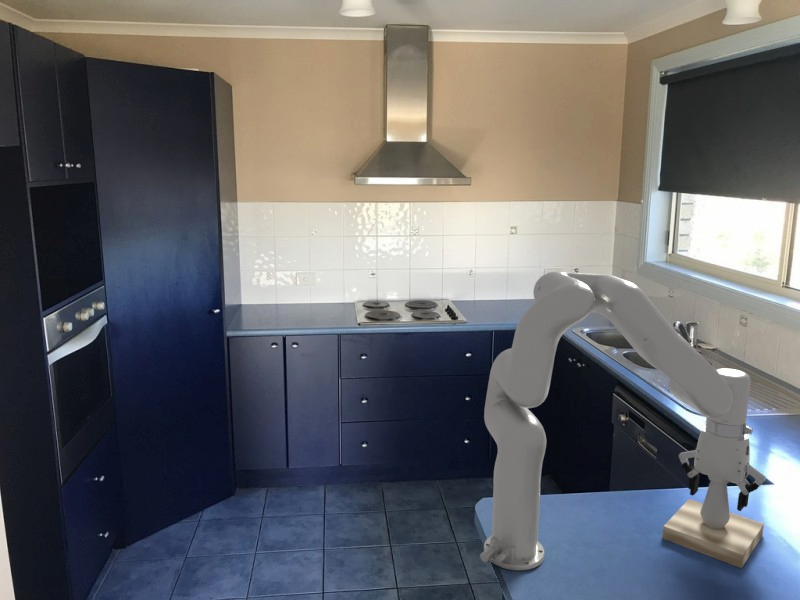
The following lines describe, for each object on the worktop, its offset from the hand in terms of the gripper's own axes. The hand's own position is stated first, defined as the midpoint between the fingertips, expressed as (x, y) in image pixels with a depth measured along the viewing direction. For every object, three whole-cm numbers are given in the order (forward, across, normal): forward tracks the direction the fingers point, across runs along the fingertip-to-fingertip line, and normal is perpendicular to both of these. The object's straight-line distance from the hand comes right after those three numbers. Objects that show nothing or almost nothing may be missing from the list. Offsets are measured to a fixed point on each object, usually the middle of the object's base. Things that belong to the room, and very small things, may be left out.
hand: (716, 500), depth 141 cm
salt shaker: (+6, 0, 0) cm, 6 cm away
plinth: (+9, 0, 0) cm, 9 cm away
